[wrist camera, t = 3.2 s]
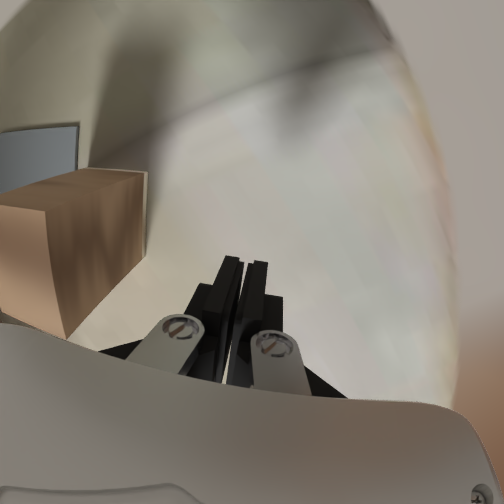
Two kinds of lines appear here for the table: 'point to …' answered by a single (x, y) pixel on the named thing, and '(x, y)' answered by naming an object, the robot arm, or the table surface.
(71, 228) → the block
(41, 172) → the mat
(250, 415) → the robot arm
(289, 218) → the table surface
